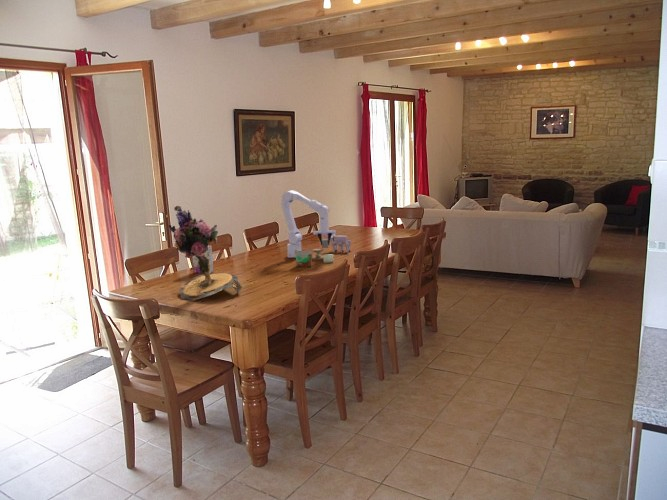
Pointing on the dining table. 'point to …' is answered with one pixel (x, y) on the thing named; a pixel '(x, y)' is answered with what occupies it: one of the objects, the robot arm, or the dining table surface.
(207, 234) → the bouquet
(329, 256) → the pale green flanged block
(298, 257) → the food container
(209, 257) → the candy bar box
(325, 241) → the gray metal block
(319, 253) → the tan rounded lump
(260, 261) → the dining table surface
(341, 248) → the toy sheep
